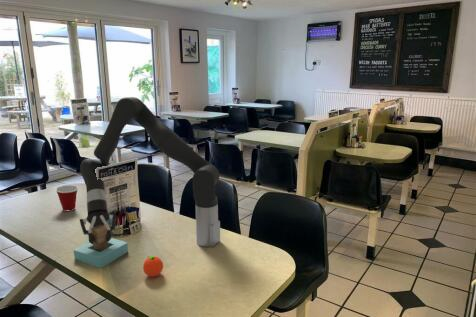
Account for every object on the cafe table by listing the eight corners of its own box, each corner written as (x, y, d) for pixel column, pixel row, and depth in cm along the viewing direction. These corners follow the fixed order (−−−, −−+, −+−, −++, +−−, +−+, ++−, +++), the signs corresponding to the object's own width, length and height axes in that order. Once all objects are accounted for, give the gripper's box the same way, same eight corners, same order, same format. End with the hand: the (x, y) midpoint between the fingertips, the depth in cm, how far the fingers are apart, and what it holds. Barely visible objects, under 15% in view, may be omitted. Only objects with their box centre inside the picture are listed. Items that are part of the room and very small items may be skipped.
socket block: (127, 251, 143) (127, 242, 142) (100, 268, 131) (99, 258, 130) (103, 243, 149) (102, 235, 148) (74, 259, 137) (73, 249, 136)
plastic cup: (75, 213, 181) (72, 191, 178) (54, 213, 181) (51, 191, 178) (84, 205, 191) (81, 184, 188) (64, 205, 191) (61, 184, 188)
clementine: (139, 272, 128) (138, 255, 126) (157, 266, 132) (156, 249, 130) (148, 283, 122) (147, 264, 120) (166, 276, 126) (165, 258, 124)
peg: (108, 249, 140) (106, 226, 138) (100, 254, 137) (98, 230, 134) (101, 247, 142) (99, 224, 139) (93, 252, 138) (91, 228, 136)
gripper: (76, 201, 139) (79, 242, 131) (115, 196, 144) (119, 235, 136) (78, 208, 145) (81, 248, 137) (115, 204, 150) (119, 242, 142)
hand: (100, 241), depth 137 cm, fingers closed on peg, 5 cm apart
